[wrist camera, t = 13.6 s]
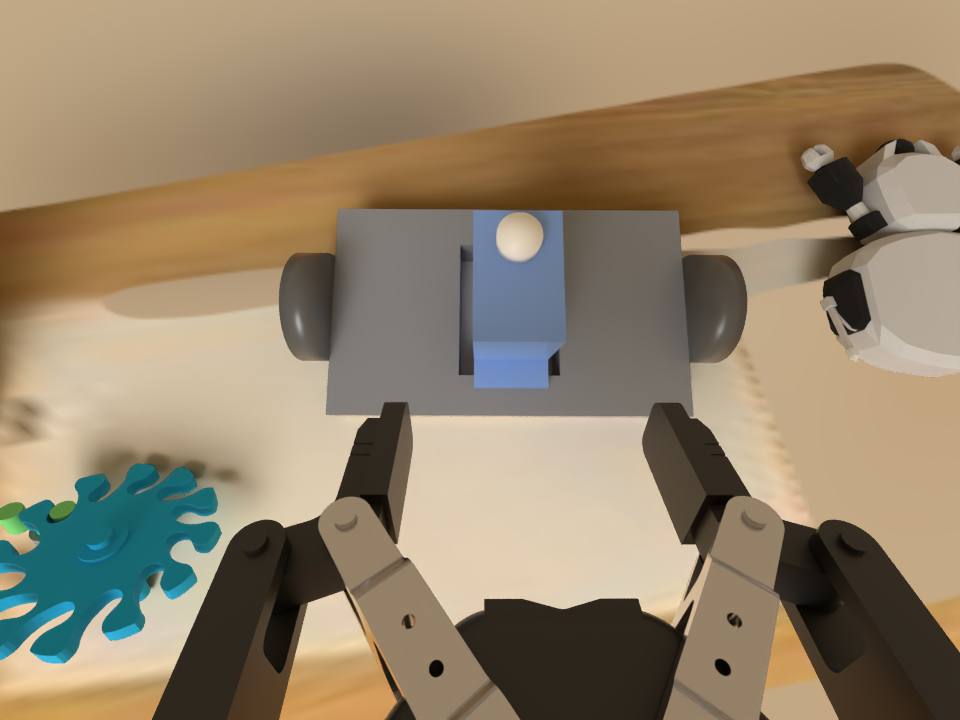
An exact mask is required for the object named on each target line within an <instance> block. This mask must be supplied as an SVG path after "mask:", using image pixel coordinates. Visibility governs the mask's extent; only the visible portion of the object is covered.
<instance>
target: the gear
mask: <svg viewBox="0 0 960 720" xmlns="http://www.w3.org/2000/svg"><path fill="white" fill-rule="evenodd" d="M158 479H159V474H158V471H157V469H156V467H155V466H153V465H149V464H136V465H134V466H132V467H131V468H130V469H129V471H128V474H127V477H126V479H125V481H124V482H123V484H122V485H121V486H120V487H119V488H118V489H117V490H116V491H115V492H113V493H112V494H111V495H110V496H108V497H107V498H105V499H104V500H102V501H99V502H96V501H98V500H99V499H100V498H101V497H103V496H104V495H105V494H106V493H107V492H108V491H109V490H110V487H111V486H110V483H109V482H108V480H107V478H106V477H105V475H104V474H98V475H92V476H88V477H85V478H81V479H79V480H78V481H77V482H76V484H75V489H76V490H77V492H78V502H77V504H75V503H74V502H73V501H65V502H61V503H59V504H57V505H56V506H55V505H54V504H53V503H52V501H50V500H44V501H42V502H39V503H37V504H35V505H33V506H31V507H29V508H27V509H26V508H25V507H24V505H23V504H22V503H19V502H15V503H10V504H7V505H5V506H3V507H2V508H0V524H1V525H2V526H3V527H4V528H5V529H6V530H7V531H8V532H9V533H10V534H12V535H17V534H21V533H23V532H26V531H27V530H30V531H29V537H30V539H31V540H32V541H33V542H34V543H35V544H36V546H37V547H36V548H34V549H33V550H32V551H30V552H28V553H26V554H23V555H19V552H18V551H17V550H16V549H15V548H14V547H13V546H12V545H11V544H10V543H9V542H8V541H5V540H0V573H6V572H20V573H24V574H26V576H25V578H24V579H23V580H22V581H21V582H20V583H19V584H18V585H16V586H15V587H13V588H11V589H8V590H3V591H0V612H2V611H4V610H6V609H9V608H11V607H14V606H18V605H21V604H27V603H34V602H38V603H37V604H36V606H35V607H34V608H33V609H32V610H31V611H30V612H28V613H27V614H25V615H23V616H21V617H18V618H11V619H4V620H0V660H2V659H4V658H6V657H8V656H9V655H11V654H12V653H13V652H14V651H16V650H17V649H18V648H19V646H20V645H21V644H22V643H23V642H24V641H25V640H26V639H27V638H28V637H29V636H30V635H31V634H32V633H33V632H35V631H36V630H37V629H38V628H40V627H41V626H43V625H44V624H46V623H47V622H49V621H51V620H52V619H54V618H56V617H58V616H60V615H62V614H64V613H66V612H68V611H71V610H74V612H73V614H72V615H71V617H70V618H69V619H68V620H66V621H65V622H63V623H62V624H60V625H58V626H56V627H54V628H52V629H50V630H48V631H47V632H45V633H44V634H42V635H41V636H40V637H39V638H38V639H37V640H36V641H35V642H34V643H33V645H32V647H31V649H30V651H31V652H32V653H33V654H34V655H35V656H37V657H38V658H39V659H41V660H42V661H44V662H47V663H66V662H67V661H68V660H69V659H70V658H71V657H72V656H73V655H74V654H75V653H76V651H77V649H78V647H79V644H80V640H81V637H82V635H83V632H84V631H85V629H86V627H87V626H88V624H89V623H90V622H91V620H92V619H93V618H94V617H95V616H96V615H97V614H98V613H99V612H100V611H101V610H102V609H103V608H104V607H105V606H106V605H107V604H108V603H109V602H111V601H112V600H114V599H117V598H122V600H121V602H120V603H119V604H118V605H117V606H116V607H115V608H114V609H113V610H112V611H111V612H110V613H109V614H108V616H107V617H106V618H105V620H104V622H103V624H102V631H103V633H104V634H105V635H106V636H107V637H108V639H109V640H110V641H113V640H119V639H123V638H126V637H128V636H131V635H133V634H136V633H138V632H140V631H141V630H142V628H143V627H144V624H145V617H144V615H143V614H142V612H141V610H140V606H139V602H140V601H142V600H143V599H145V598H146V597H147V596H148V595H149V593H150V587H149V585H148V583H147V582H146V580H147V579H148V577H150V576H151V575H152V574H154V573H156V572H158V571H164V573H163V576H162V578H161V581H160V585H161V588H162V589H163V591H164V593H165V594H166V596H167V597H168V598H170V599H175V598H177V597H179V596H180V595H182V594H183V593H185V592H186V591H187V590H189V589H190V588H191V587H192V586H193V585H194V584H195V583H196V582H197V577H196V575H195V573H194V571H193V569H192V567H191V566H190V565H187V564H182V563H179V562H176V561H175V560H173V559H172V558H171V555H170V550H171V548H172V547H173V546H174V545H175V544H176V543H177V542H179V541H181V540H191V541H192V543H193V545H194V547H195V549H196V551H197V552H199V553H208V552H210V551H211V550H212V549H213V548H214V546H215V545H216V544H217V542H218V540H219V538H220V536H221V534H222V533H221V530H220V528H219V525H218V524H217V523H215V522H205V523H201V524H183V523H180V522H178V521H176V519H177V518H178V517H179V516H181V515H182V514H184V513H188V512H192V513H195V514H197V515H200V516H209V515H212V514H214V513H215V512H216V510H217V506H218V502H217V497H216V494H215V491H214V489H213V488H204V489H202V490H200V491H198V492H196V493H195V494H192V495H190V496H188V497H185V498H182V499H178V500H171V501H163V500H164V499H165V498H166V497H168V496H170V495H174V494H184V493H188V492H190V491H192V490H193V489H195V488H196V487H197V484H196V481H195V479H194V476H193V474H192V473H191V472H190V471H189V470H188V469H186V468H185V467H181V468H179V469H177V470H175V471H173V472H172V473H171V474H170V476H169V477H168V478H167V479H165V480H164V481H163V482H162V483H160V484H159V485H157V486H155V487H153V488H151V489H149V490H147V491H144V492H142V493H139V494H135V493H136V492H138V491H139V490H141V489H144V488H146V487H149V486H151V485H153V484H154V483H155V482H156V481H157V480H158ZM134 494H135V495H134Z"/></svg>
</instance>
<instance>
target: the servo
mask: <svg viewBox="0 0 960 720" xmlns="http://www.w3.org/2000/svg"><path fill="white" fill-rule="evenodd" d="M565 343H566V315H565V281H564V248H563V214H562V211H496V210H473V352H474V388H548V387H549V381H548V359H549V358H550V357H551V356H552V355H553V354H554V353H555V352H556V351H557V350H558V349H559V348H560V347H561V346H562V345H563V344H565Z"/></svg>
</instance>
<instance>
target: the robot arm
mask: <svg viewBox="0 0 960 720" xmlns="http://www.w3.org/2000/svg"><path fill="white" fill-rule="evenodd" d="M642 445H643V451H644V455H645V457H646V460H647V462H648V464H649V467H650V469H651V472H652V474H653V477H654V479H655V481H656V484H657V486H658V489H659V491H660V494H661V496H662V498H663V501H664V503H665V506H666V508H667V511H668V513H669V515H670V518H671V520H672V523H673V525H674V528H675V530H676V532H677V535H678V537H679V540H680V542H681V544H696V546H697V548H698V551H699V554H698V556H697V558H696V560H695V563H694V566H693V569H692V571H691V574H690V577H689V580H688V583H687V586H686V588H685V591H684V594H683V597H682V600H681V602H680V605H679V608H678V610H677V613H676V615H675V617H674V619H673V621H672V623H671V625H670V624H668V623H667V622H665V621H664V620H662V619H660V618H658V617H656V616H654V615H651V614H649V613H646V612H643V611H642V610H641V607H640V604H639V600H638V599H598V600H594V601H591V602H588V603H585V604H581V605H578V606H575V607H571V608H568V609H558V608H554V607H550V606H546V605H543V604H539V603H535V602H532V601H528V600H524V599H484V610H483V611H480V612H477V613H475V614H472V615H470V616H468V617H466V618H465V619H463V620H462V621H460V622H459V623H457V624H456V625H455V626H454V625H453V623H452V622H451V620H450V619H449V617H448V616H447V614H446V613H445V611H444V610H443V608H442V606H441V605H440V603H439V602H438V600H437V599H436V597H435V596H434V594H433V593H432V591H431V590H430V588H429V587H428V585H427V584H426V582H425V581H424V579H423V578H422V576H421V575H420V573H419V571H418V570H417V568H416V567H415V565H414V564H413V563H412V562H411V560H410V559H409V558H404V557H403V556H402V555H401V553H400V552H399V550H398V549H397V547H396V545H395V544H398V537H399V531H400V525H401V519H402V513H403V506H404V500H405V494H406V488H407V482H408V475H409V469H410V463H411V457H412V449H413V435H412V427H411V419H410V411H409V405H408V402H385V403H384V405H383V408H382V412H381V416H380V418H368V419H367V420H366V421H365V422H364V423H363V424H362V426H361V427H360V428H359V429H358V431H357V434H356V437H355V441H354V445H353V447H352V450H351V453H350V456H349V460H348V463H347V466H346V469H345V472H344V476H343V479H342V482H341V485H340V488H339V492H338V495H337V497H336V500H335V501H334V502H333V503H331V504H330V505H329V506H328V507H327V508H326V509H325V510H324V511H323V513H322V514H321V515H320V516H318V517H317V518H315V519H312V520H310V521H307V522H303V523H300V524H297V525H293V526H290V527H286V528H283V526H282V525H281V524H280V523H278V522H276V521H273V520H260V521H256V522H254V523H251V524H249V525H247V526H246V527H244V528H243V529H241V530H240V531H239V532H238V533H237V534H236V535H235V536H234V537H233V538H232V540H231V541H230V543H229V545H228V547H227V549H226V551H225V554H224V556H223V558H222V560H221V563H220V565H219V567H218V570H217V572H216V574H215V576H214V579H213V581H212V583H211V586H210V588H209V590H208V592H207V595H206V597H205V599H204V602H203V604H202V606H201V608H200V611H199V613H198V615H197V618H196V620H195V622H194V624H193V627H192V629H191V631H190V634H189V636H188V638H187V640H186V643H185V645H184V647H183V650H182V652H181V654H180V656H179V659H178V661H177V663H176V666H175V668H174V670H173V673H172V675H171V677H170V679H169V682H168V684H167V686H166V689H165V691H164V693H163V695H162V698H161V700H160V702H159V705H158V707H157V709H156V711H155V714H154V716H153V718H152V720H279V717H280V713H281V709H282V705H283V701H284V697H285V693H286V689H287V685H288V681H289V677H290V673H291V669H292V665H293V661H294V657H295V653H296V649H297V645H298V641H299V637H300V633H301V629H302V625H303V621H304V617H305V613H306V608H307V604H308V602H311V601H314V600H317V599H320V598H323V597H326V596H329V595H332V594H334V593H337V592H340V591H343V593H344V595H345V597H346V599H347V601H348V603H349V605H350V607H351V609H352V611H353V613H354V615H355V617H356V619H357V621H358V623H359V625H360V627H361V629H362V631H363V633H364V635H365V637H366V639H367V641H368V643H369V646H370V648H371V650H372V652H373V655H374V657H375V659H376V661H377V664H378V666H379V668H380V670H381V672H382V674H383V676H384V678H385V680H386V682H387V684H388V686H389V688H390V690H391V692H392V694H393V696H394V698H395V700H396V702H397V703H396V704H395V706H394V707H393V709H392V710H391V712H390V713H389V714H388V716H387V717H386V719H385V720H769V719H768V718H767V717H766V716H765V715H764V714H763V713H762V712H761V705H762V699H763V694H764V688H765V682H766V677H767V671H768V665H769V659H770V654H771V648H772V642H773V637H774V631H775V625H776V620H777V614H778V608H779V601H780V600H781V602H782V604H783V606H784V608H785V610H786V612H787V615H788V617H789V619H790V621H791V623H792V625H793V627H794V629H795V631H796V633H797V635H798V637H799V639H800V641H801V643H802V645H803V647H804V649H805V651H806V653H807V655H808V657H809V659H810V661H811V663H812V665H813V667H814V669H815V672H816V674H817V676H818V678H819V680H820V682H821V684H822V686H823V688H824V690H825V692H826V694H827V696H828V698H829V700H830V702H831V704H832V706H833V708H834V710H835V712H836V714H837V716H838V718H839V720H960V652H959V651H958V649H957V648H956V647H955V645H954V644H953V643H952V641H951V640H950V639H949V637H948V636H947V635H946V633H945V632H944V631H943V629H942V628H941V627H940V625H939V624H938V623H937V621H936V620H935V619H934V617H933V616H932V615H931V613H930V612H929V611H928V609H927V608H926V607H925V605H924V604H923V603H922V601H921V600H920V599H919V597H918V596H917V595H916V593H915V592H914V591H913V589H912V588H911V586H910V585H909V584H908V583H907V581H906V580H905V578H904V577H903V576H902V575H901V573H900V572H899V570H898V569H897V568H896V566H895V565H894V564H893V562H892V561H891V560H890V558H889V557H888V556H887V554H886V553H885V552H884V550H883V549H882V548H881V546H880V545H879V544H878V543H877V542H876V540H875V539H874V538H872V537H871V536H870V535H869V534H868V533H866V532H865V531H864V530H862V529H860V528H859V527H857V526H855V525H853V524H850V523H847V522H845V521H841V520H827V521H825V522H823V523H822V524H821V525H820V526H819V527H818V529H814V528H811V527H807V526H803V525H799V524H796V523H792V522H788V521H785V520H782V519H781V518H780V516H779V515H778V514H777V513H776V512H775V511H774V510H773V509H772V508H771V507H770V506H768V505H767V504H765V503H764V502H762V501H760V500H758V499H755V498H752V497H751V495H750V494H749V492H748V490H747V489H746V487H745V486H744V484H743V482H742V481H741V479H740V477H739V476H738V474H737V472H736V471H735V469H734V468H733V466H732V464H731V463H730V461H729V459H728V458H727V457H725V453H724V451H723V450H722V448H721V446H719V443H718V441H717V440H716V438H715V437H714V435H713V433H712V432H711V430H710V429H709V428H708V427H706V426H705V425H704V424H703V423H702V422H701V421H699V420H698V419H690V417H689V416H688V414H687V412H686V410H685V409H684V407H683V405H682V404H681V403H654V405H653V407H652V409H651V412H650V415H649V419H648V422H647V425H646V428H645V431H644V434H643V439H642Z"/></svg>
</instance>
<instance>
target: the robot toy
mask: <svg viewBox="0 0 960 720" xmlns="http://www.w3.org/2000/svg"><path fill="white" fill-rule="evenodd" d="M801 162H802V164H803V167H804V168H805V169H807V170H809V171H811V172H813V173H816V174H815V175H814V176H813V177H812V178H811V179H810V180H809V181H808V182H807V183H808V184H809V186H810V187H811V188H812V190H813V191H814V192H815V194H816V195H817V196H818V198H819V199H820V200H821V202H822V203H823V204H826V205H829V206H832V207H834V208H837V209H841V210H844V211H846V212H847V214H848V217H849V220H850V222H851V224H850V226H849V228H848V229H849V230H850V231H851V233H852V234H853V235H854V237H855V238H856V239H857V241H861V243H862V244H863V245H865V246H863V247H862V248H860V249H858V250H856V251H855V252H853V253H851V254H849V255H847V256H846V257H844V258H843V259H841V260H840V261H839V262H837V263H836V264H835V265H834V266H832V269H831V272H830V274H829V277H828V280H826V281H824V286H823V297H824V299H823V300H822V301H820V304H821V306H822V308H823V309H824V311H826V312H827V317H828V320H829V324H830V328H831V330H832V331H833V332H834V334H835V335H836V337H837V340H838V341H839V342H840V343H841V344H842V345H843V346H844V347H845V348H846V351H845V352H846V354H847V356H848V358H849V359H850V360H852V361H854V362H856V363H857V361H858V358H859V359H861V360H862V361H864V362H866V363H867V364H870V365H872V366H875V367H878V368H881V369H886V370H889V371H893V372H898V373H905V374H912V375H919V376H926V377H939V376H944V375H951V374H957V373H960V145H959V146H956V147H955V148H954V150H953V151H952V153H951V154H950V156H949V158H946V157H944V156H942V155H941V153H940V152H939V151H938V149H937V148H936V147H935V145H933V144H930V143H928V142H925V141H922V140H919V141H918V142H916V143H915V144H914V145H913V144H912V143H911V142H910V141H907V140H905V139H897V140H891V141H888V142H886V143H885V144H883V145H881V146H880V147H879V149H878V150H877V151H876V152H875V153H874V155H872V156H871V157H870V158H869V159H867V160H866V161H865V162H863V163H862V164H861V165H860V166H858V167H857V168H855V167H854V166H853V165H852V163H851V162H850V161H849V160H848V158H847V157H843V158H841V159H838V160H836V161H834V154H833V150H831V149H830V148H829V147H827V146H826V145H823V144H818V145H816V146H814V147H813V148H809V149H807V150H806V151H805V152H804V153H803V154H802V157H801Z"/></svg>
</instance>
